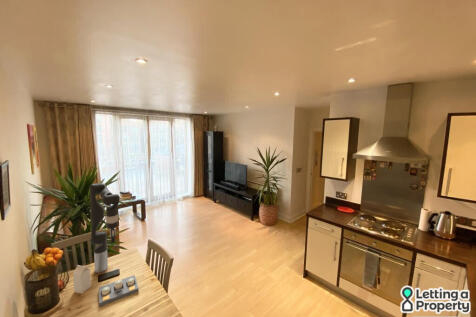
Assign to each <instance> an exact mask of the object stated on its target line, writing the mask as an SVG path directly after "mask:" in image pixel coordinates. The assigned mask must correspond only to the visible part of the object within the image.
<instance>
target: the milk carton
mask: <svg viewBox="0 0 476 317" xmlns="http://www.w3.org/2000/svg"><path fill="white" fill-rule="evenodd" d="M72 277H73V279H72V280H73V292H74V293H77V294H83V293H86V291H87V290H88V289H90V288H91V287H92V286H91V285H92V281H91V268H88V267H87V265H79V264H77V265H76V268H75V270H74V271H73V272H72Z"/></svg>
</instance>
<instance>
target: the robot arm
mask: <svg viewBox="0 0 476 317" xmlns="http://www.w3.org/2000/svg"><path fill="white" fill-rule="evenodd" d="M88 191H89V199H90V200H89V201H90V224H91V225H90V227H91V230H90V232H91V233H90V242H91V245H92V246H93V245H94V246H95V245H97V246H95V247H94V248H93V256H94V259H93V260H94V272H95V273H98V274H100V273H103V272H105V271H107V270H108V268H109V265H108V264H109V263H108V241H107V240H108V234H107V232H106V231H100V232H99V231H98V232H97V229H98V227H99V226H100V224H101V223H102V221H103V219H104V218H105V223H106V224H105V226H106V229H108V230H109V236H110V240H111V241H110V243H111V244H114V243H116V241H115V240H116V232H117V229H116V228H118V227H119V215H118V208H119V204H120V200H121V198H120V195H119V194H117V193H116V194H115V193H114V194H113V193H112V192H111V191H110V190H109V189H108V187H107V185H106V184H105V183H104V182H102V183H101V182H100V183H99V182H98V183H91V184H90V185H89V190H88ZM97 195H99V196H100V198H101V199H102V203H103V205H104V206H109V207H107V208H106V209H104V207H103V206H102V205H101V204H100V202H99V201H98V200H97V197H96V196H97ZM105 213H106V217H105Z"/></svg>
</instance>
